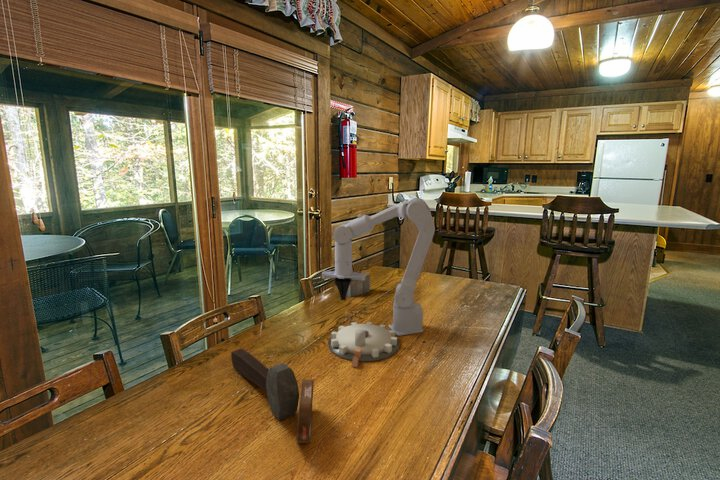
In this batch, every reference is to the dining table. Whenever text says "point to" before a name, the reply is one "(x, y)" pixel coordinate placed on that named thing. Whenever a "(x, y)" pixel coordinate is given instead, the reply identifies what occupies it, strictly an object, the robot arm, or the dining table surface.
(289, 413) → the hammer
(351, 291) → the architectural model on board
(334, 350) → the wheel base
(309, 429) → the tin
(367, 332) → the sprocket wheel
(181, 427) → the dining table surface
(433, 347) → the dining table surface
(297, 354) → the dining table surface
